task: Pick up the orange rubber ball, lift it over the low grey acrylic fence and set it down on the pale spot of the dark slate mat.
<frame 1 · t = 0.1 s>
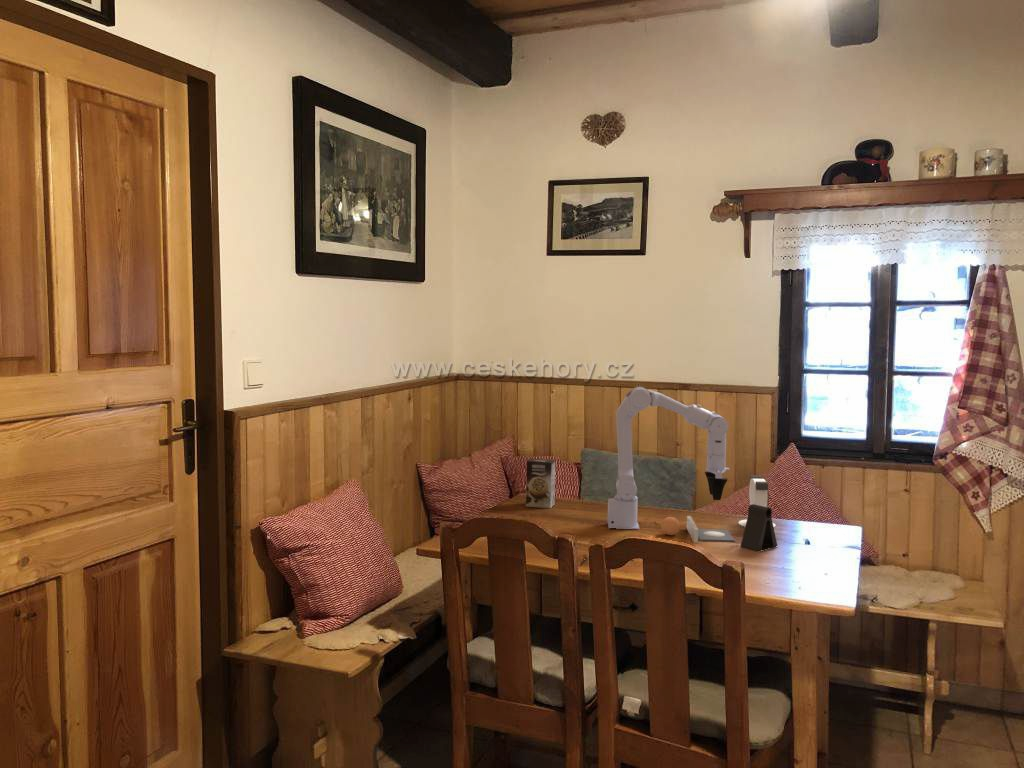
hand: (715, 497, 260), 10 cm above the table, tool pointing down, fingers open, 7 cm apart
fence: (692, 535, 253), on the table
ball: (670, 526, 253), point 3 cm above the table
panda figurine: (757, 525, 266), on the table
mat: (713, 535, 252), on the table
coffee box: (540, 506, 291), on the table
phone stand: (758, 547, 241), on the table
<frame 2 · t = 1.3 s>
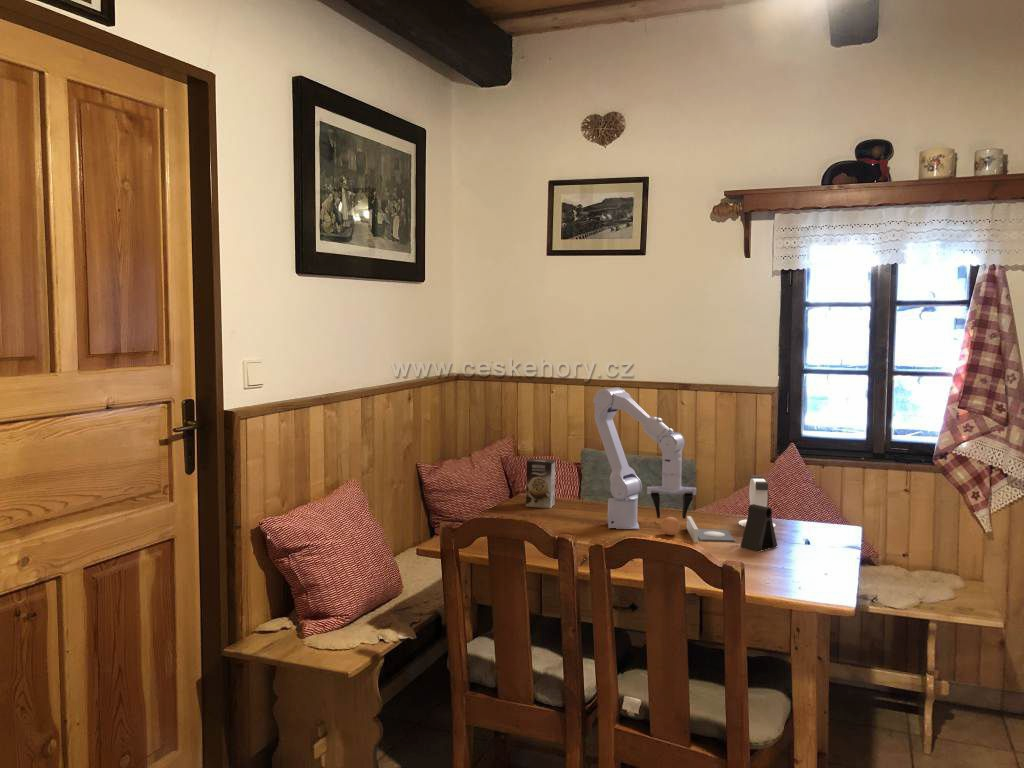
hand: (671, 517, 253), 5 cm above the table, tool pointing down, fingers open, 7 cm apart
nothing on the table moved.
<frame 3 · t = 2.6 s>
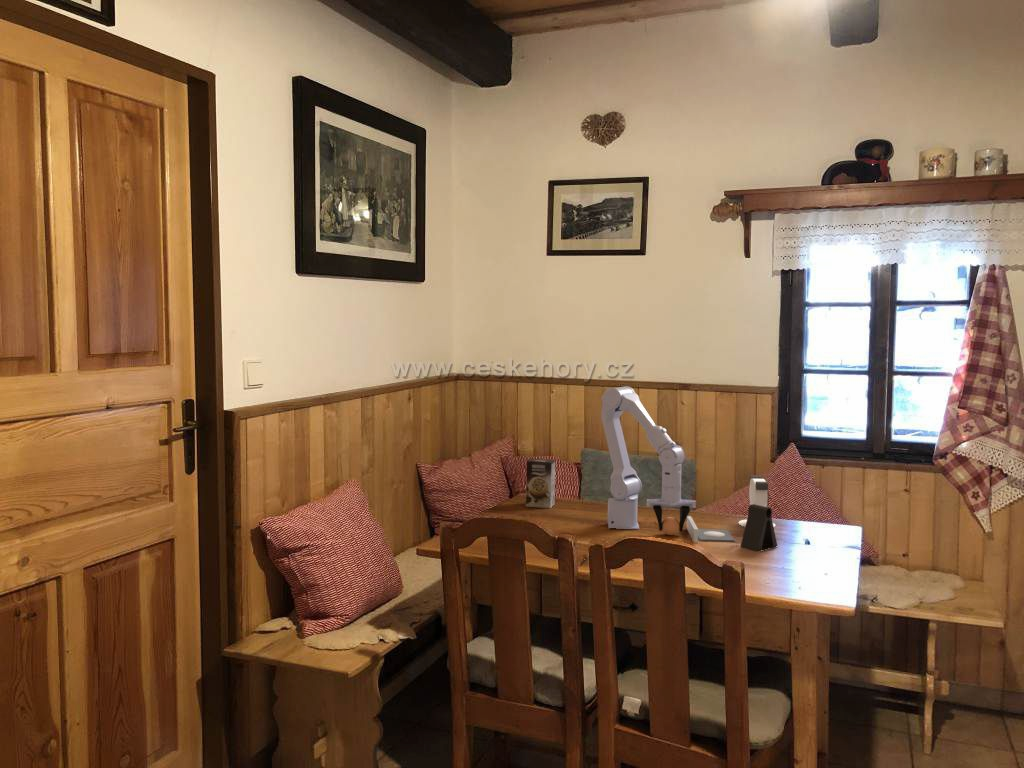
hand: (670, 530, 253), 1 cm above the table, tool pointing down, fingers closed on ball, 5 cm apart
ball: (670, 526, 253), point 3 cm above the table, touching gripper
everything else where it was.
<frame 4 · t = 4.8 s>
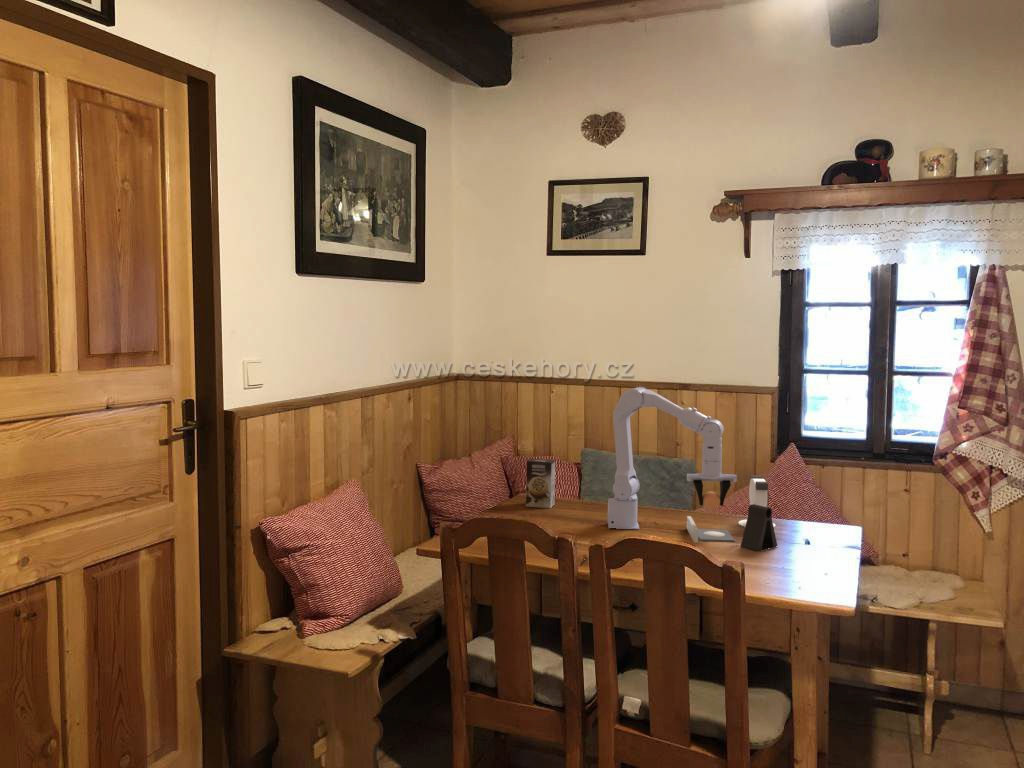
hand: (711, 504, 252), 10 cm above the table, tool pointing down, fingers closed on ball, 5 cm apart
ball: (711, 500, 251), point 11 cm above the table, touching gripper
everything else where it was.
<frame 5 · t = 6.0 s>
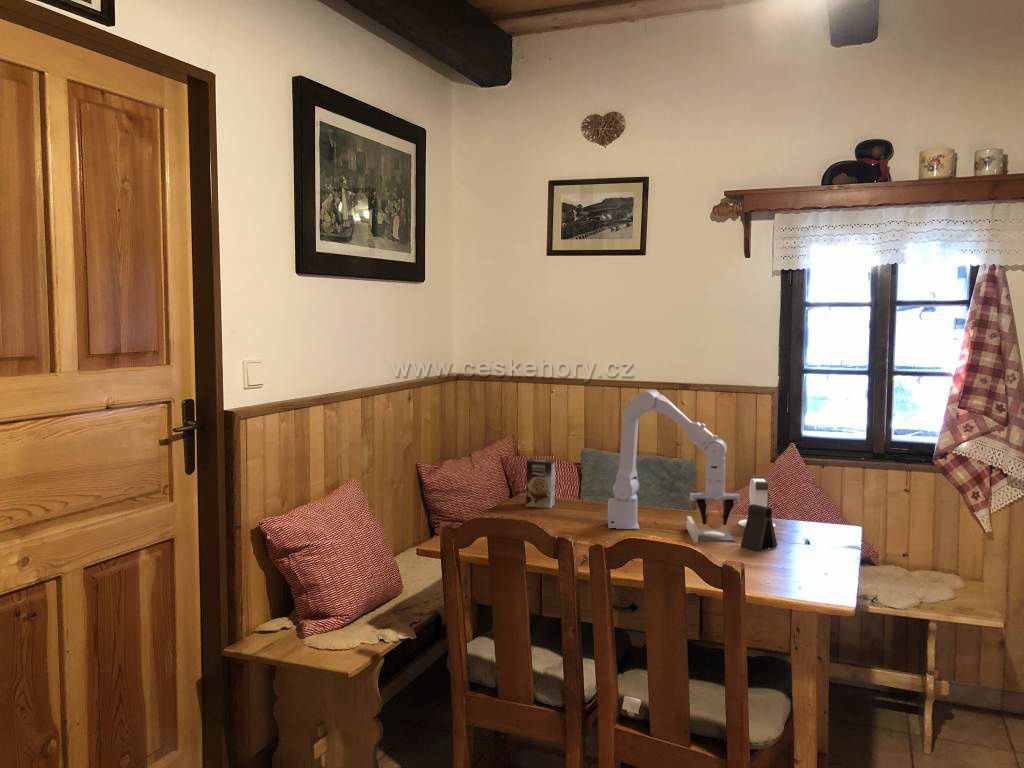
hand: (714, 524, 252), 4 cm above the table, tool pointing down, fingers closed on ball, 5 cm apart
ball: (714, 519, 252), point 5 cm above the table, touching gripper
everything else where it was.
when the fingers open (3 cm above the table, at t = 7.1 s): ball drops 1 cm, resting on mat.
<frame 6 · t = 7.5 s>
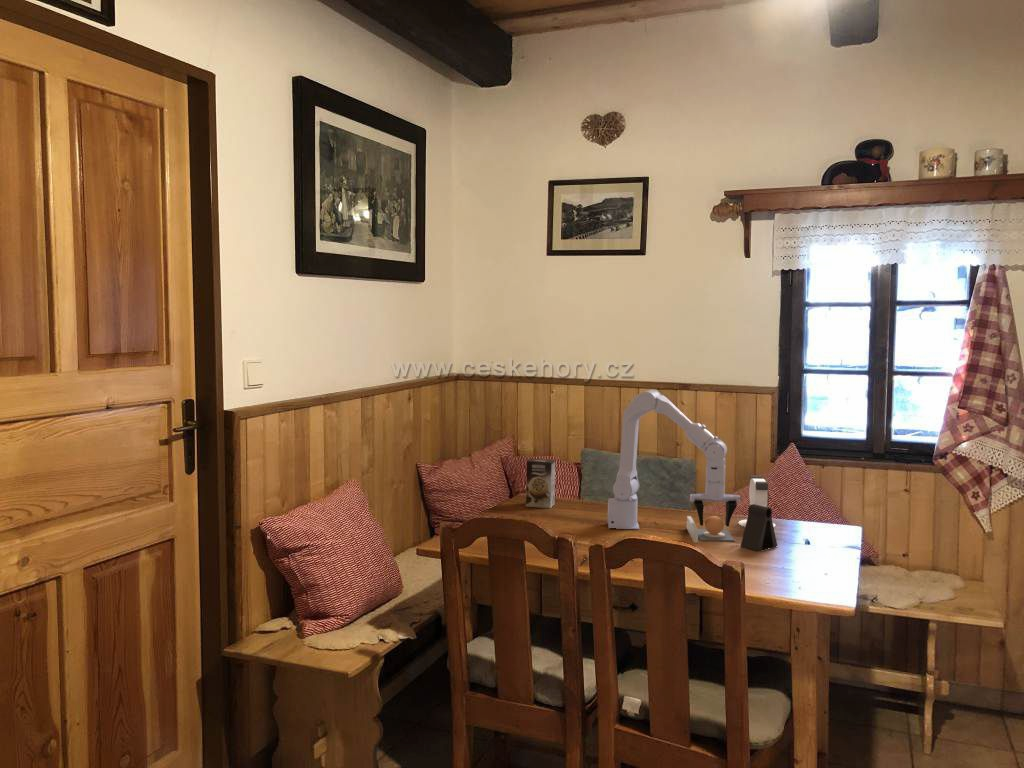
hand: (714, 525, 252), 3 cm above the table, tool pointing down, fingers open, 7 cm apart
ball: (714, 525, 252), point 3 cm above the table, touching mat
everything else where it was.
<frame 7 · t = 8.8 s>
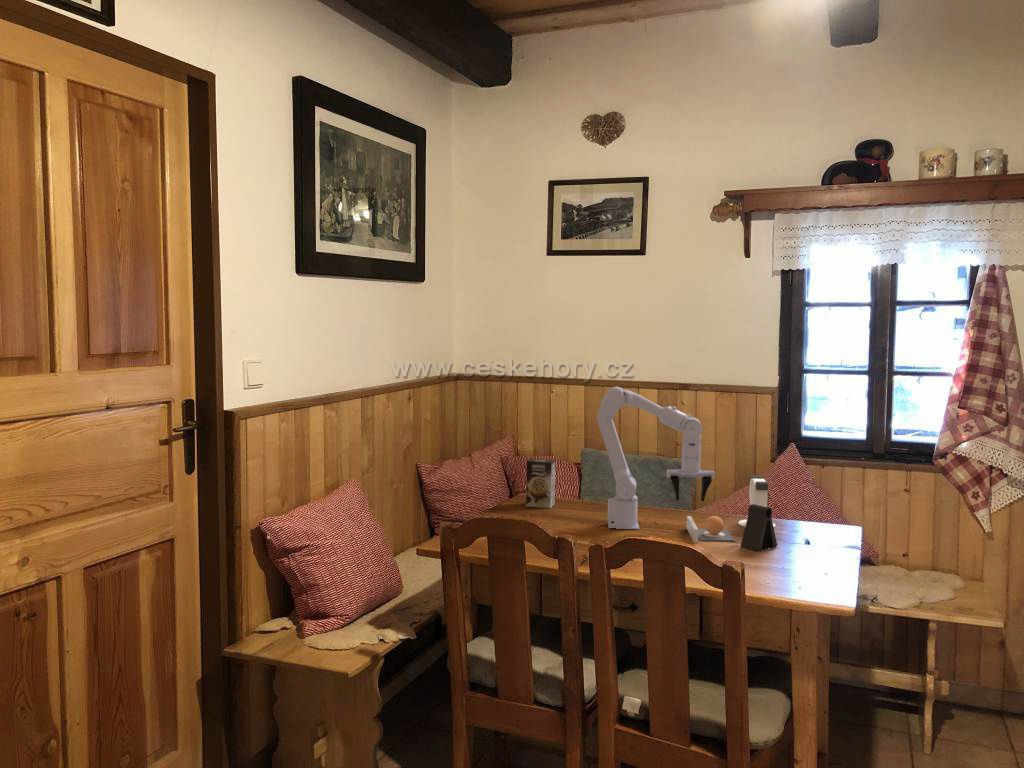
hand: (689, 500, 259), 9 cm above the table, tool pointing down, fingers open, 7 cm apart
nothing on the table moved.
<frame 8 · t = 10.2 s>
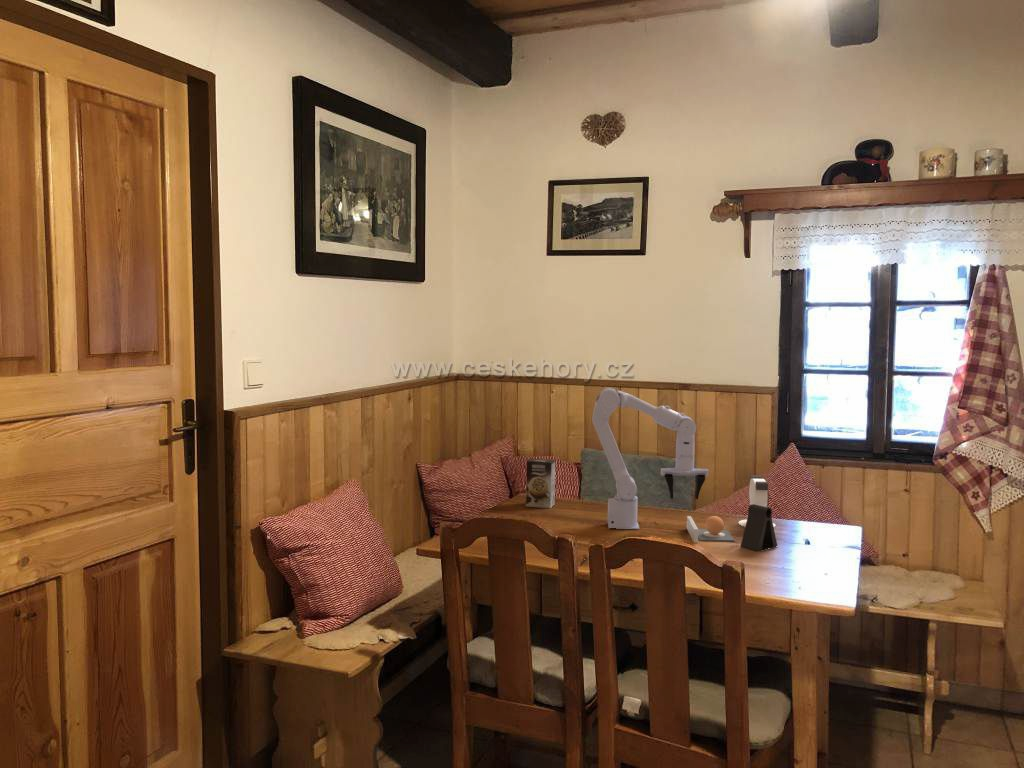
hand: (684, 498, 261), 9 cm above the table, tool pointing down, fingers open, 7 cm apart
nothing on the table moved.
at the end: ball 0.1 cm off-centre on the mat, point 3.3 cm above the mat's base; the gripper is holding nothing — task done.
